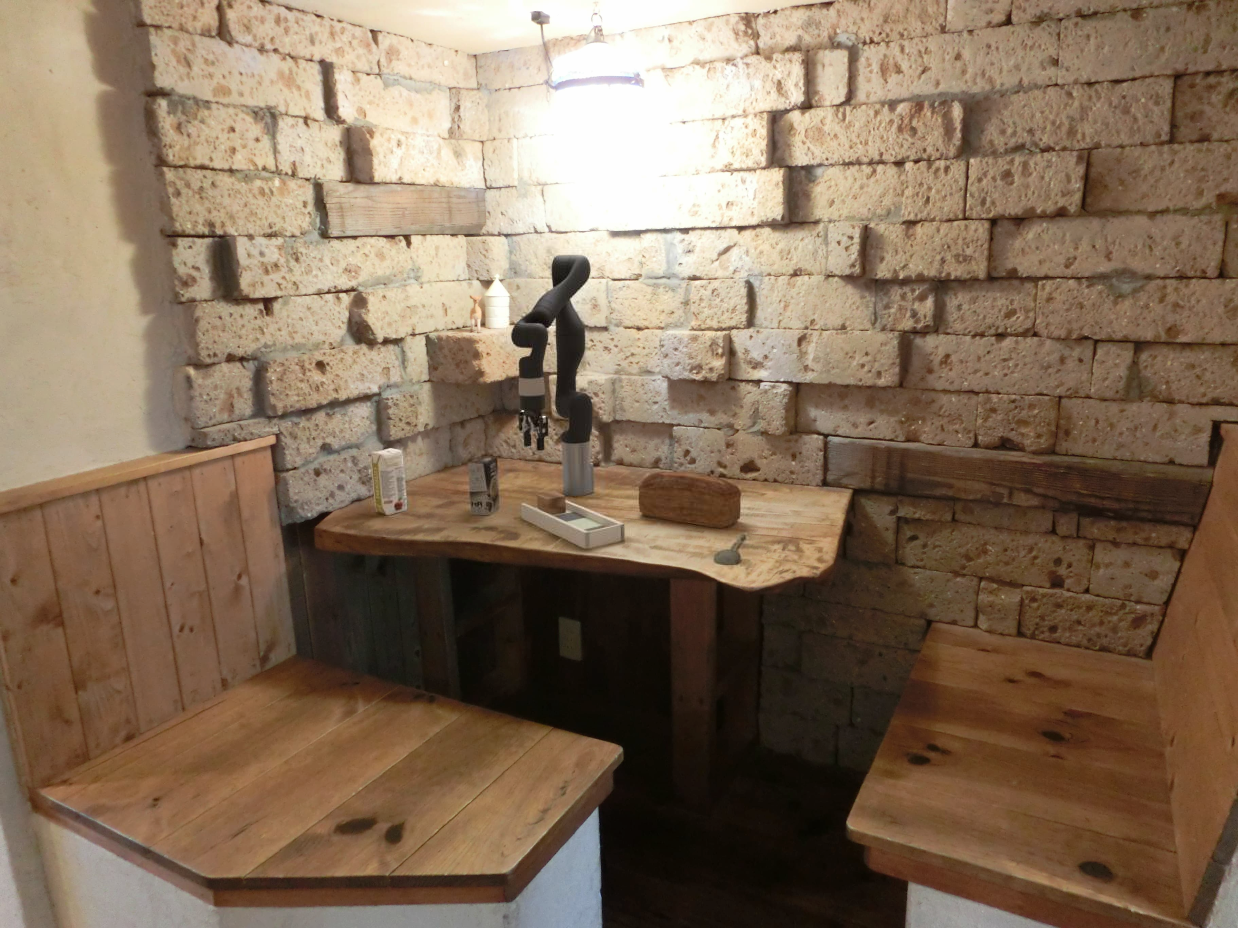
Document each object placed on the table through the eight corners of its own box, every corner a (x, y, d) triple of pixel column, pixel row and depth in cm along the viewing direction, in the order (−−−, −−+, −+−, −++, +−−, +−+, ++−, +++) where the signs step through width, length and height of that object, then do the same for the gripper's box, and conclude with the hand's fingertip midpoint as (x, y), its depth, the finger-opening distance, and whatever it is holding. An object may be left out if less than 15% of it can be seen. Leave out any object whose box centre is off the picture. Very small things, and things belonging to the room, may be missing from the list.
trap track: (557, 510, 257) (557, 496, 256) (624, 539, 229) (624, 523, 228) (521, 518, 250) (521, 503, 249) (586, 549, 222) (585, 532, 221)
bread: (728, 533, 233) (728, 485, 230) (633, 517, 250) (632, 472, 246) (746, 521, 243) (747, 475, 240) (654, 506, 259) (653, 464, 256)
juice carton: (410, 510, 261) (405, 450, 256) (386, 516, 255) (380, 455, 250) (396, 506, 266) (391, 446, 261) (372, 512, 260) (366, 451, 255)
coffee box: (490, 515, 254) (487, 463, 250) (470, 514, 255) (466, 462, 251) (500, 507, 262) (498, 456, 258) (481, 506, 263) (477, 455, 260)
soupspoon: (710, 568, 210) (736, 572, 208) (711, 555, 209) (737, 559, 207) (731, 537, 230) (755, 541, 227) (732, 526, 229) (756, 529, 226)
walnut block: (555, 507, 251) (554, 491, 250) (565, 512, 246) (565, 495, 245) (537, 511, 248) (536, 494, 247) (547, 516, 243) (547, 499, 242)
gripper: (555, 394, 242) (557, 450, 246) (531, 389, 254) (533, 442, 258) (532, 396, 238) (534, 454, 242) (508, 391, 250) (511, 446, 254)
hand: (534, 448), depth 250 cm, fingers open, 7 cm apart
